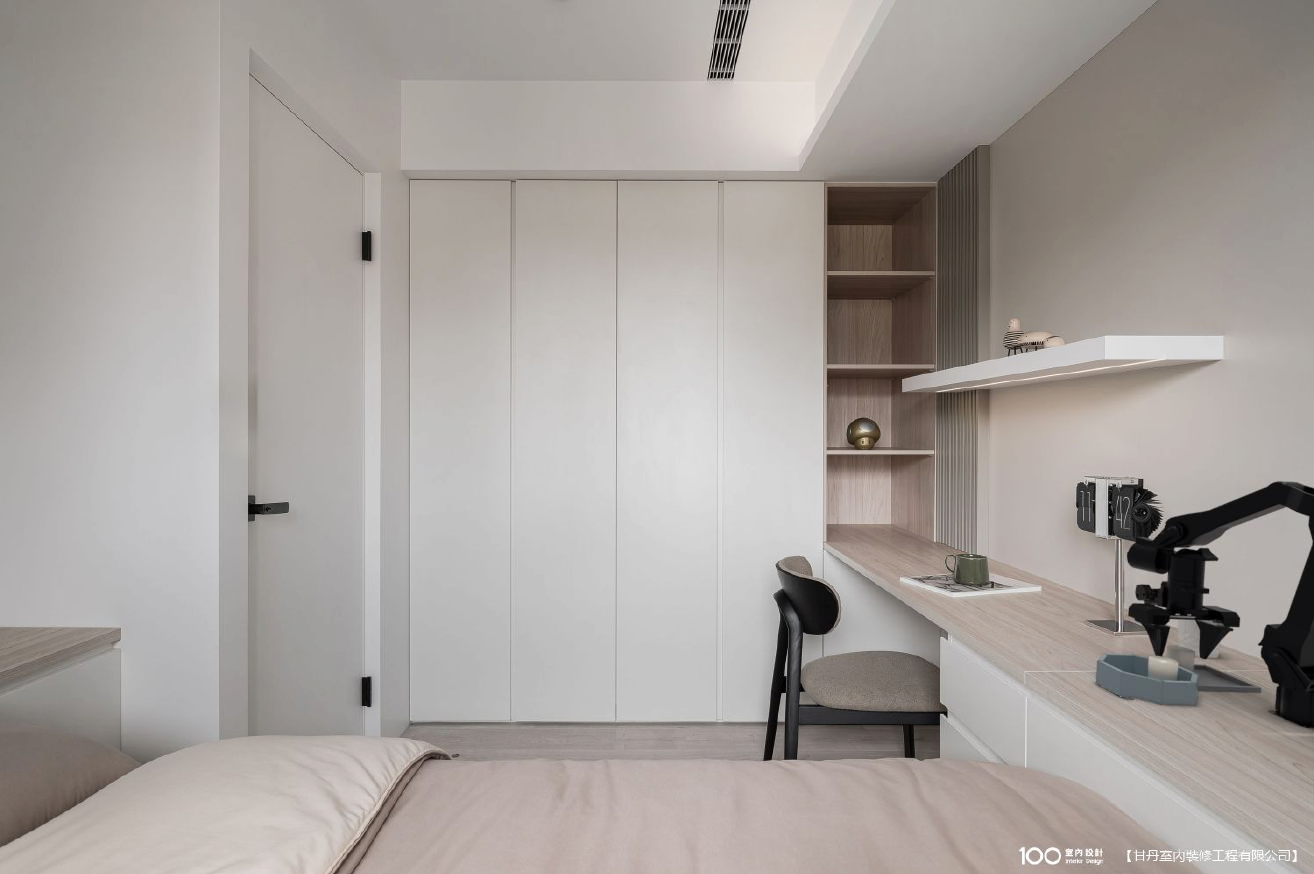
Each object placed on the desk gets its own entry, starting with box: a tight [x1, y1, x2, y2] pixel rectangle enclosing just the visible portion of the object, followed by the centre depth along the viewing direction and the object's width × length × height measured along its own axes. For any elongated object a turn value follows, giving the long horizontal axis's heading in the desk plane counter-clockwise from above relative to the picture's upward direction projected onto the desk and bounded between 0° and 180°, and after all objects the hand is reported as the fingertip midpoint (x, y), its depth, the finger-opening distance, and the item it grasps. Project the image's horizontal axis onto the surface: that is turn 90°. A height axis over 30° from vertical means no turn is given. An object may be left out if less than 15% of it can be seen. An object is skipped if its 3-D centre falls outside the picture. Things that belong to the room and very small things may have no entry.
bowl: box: [1095, 652, 1199, 706], centre depth 124 cm, size 15×15×4 cm
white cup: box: [1177, 614, 1222, 659], centre depth 147 cm, size 8×8×10 cm
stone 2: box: [1165, 644, 1196, 672], centre depth 132 cm, size 4×4×5 cm
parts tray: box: [1194, 663, 1262, 694], centre depth 130 cm, size 12×13×2 cm
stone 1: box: [1148, 655, 1178, 681], centre depth 124 cm, size 4×4×5 cm
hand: (1180, 658), depth 132 cm, fingers open, 9 cm apart
